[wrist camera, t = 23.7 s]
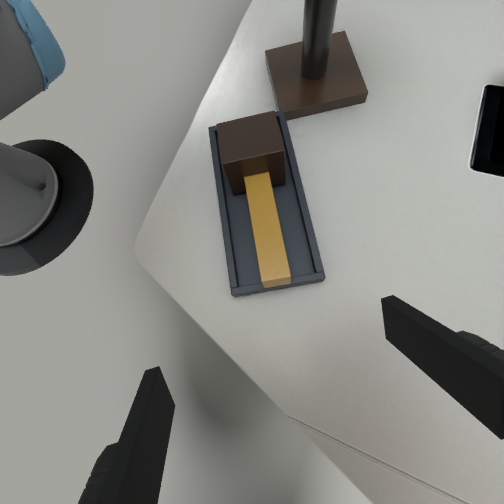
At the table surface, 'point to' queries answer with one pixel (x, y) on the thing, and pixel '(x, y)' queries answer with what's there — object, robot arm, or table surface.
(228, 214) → the tray
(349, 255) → the table surface
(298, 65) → the pedestal stand
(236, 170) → the mallet
